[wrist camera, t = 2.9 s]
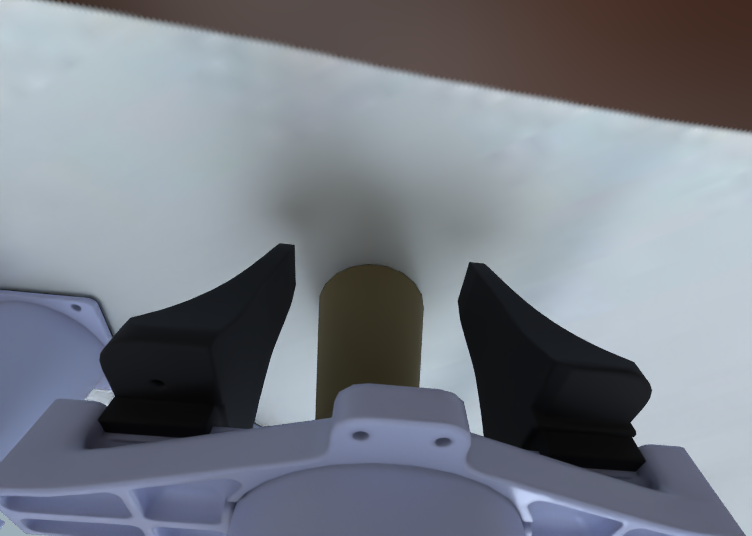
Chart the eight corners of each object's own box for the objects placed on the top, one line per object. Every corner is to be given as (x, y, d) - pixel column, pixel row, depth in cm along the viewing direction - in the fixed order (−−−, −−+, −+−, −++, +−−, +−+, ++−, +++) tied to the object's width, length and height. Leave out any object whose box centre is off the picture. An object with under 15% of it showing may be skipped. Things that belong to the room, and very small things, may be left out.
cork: (380, 244, 18) (378, 464, 9) (443, 315, 21) (490, 541, 12) (296, 299, 20) (226, 522, 11) (363, 358, 23) (350, 576, 14)
